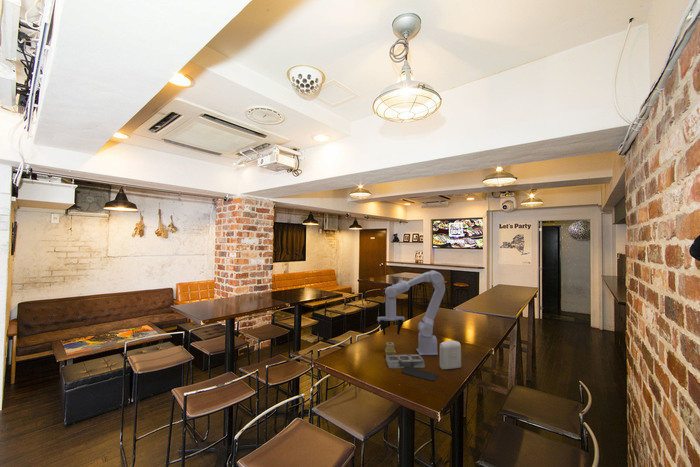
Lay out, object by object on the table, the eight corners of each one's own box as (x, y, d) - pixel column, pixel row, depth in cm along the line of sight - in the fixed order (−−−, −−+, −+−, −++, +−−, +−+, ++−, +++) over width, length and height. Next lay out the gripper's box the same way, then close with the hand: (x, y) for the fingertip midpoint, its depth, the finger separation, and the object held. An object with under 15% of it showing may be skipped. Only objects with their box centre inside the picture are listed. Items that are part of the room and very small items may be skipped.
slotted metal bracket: (419, 360, 140) (419, 354, 140) (424, 367, 132) (424, 361, 132) (385, 361, 139) (385, 355, 140) (388, 368, 131) (388, 362, 132)
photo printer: (457, 364, 135) (456, 338, 136) (462, 368, 131) (462, 341, 132) (438, 366, 133) (437, 340, 133) (443, 370, 129) (442, 343, 129)
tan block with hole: (394, 355, 147) (393, 341, 147) (395, 359, 142) (395, 345, 142) (384, 355, 147) (384, 341, 147) (386, 359, 142) (385, 345, 142)
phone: (433, 381, 118) (400, 372, 127) (433, 383, 118) (400, 374, 126) (438, 374, 125) (406, 366, 133) (438, 375, 125) (406, 367, 133)
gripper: (378, 311, 148) (379, 336, 148) (405, 310, 149) (406, 336, 148) (376, 307, 155) (377, 332, 155) (402, 307, 156) (403, 332, 155)
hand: (391, 334), depth 152 cm, fingers open, 7 cm apart
